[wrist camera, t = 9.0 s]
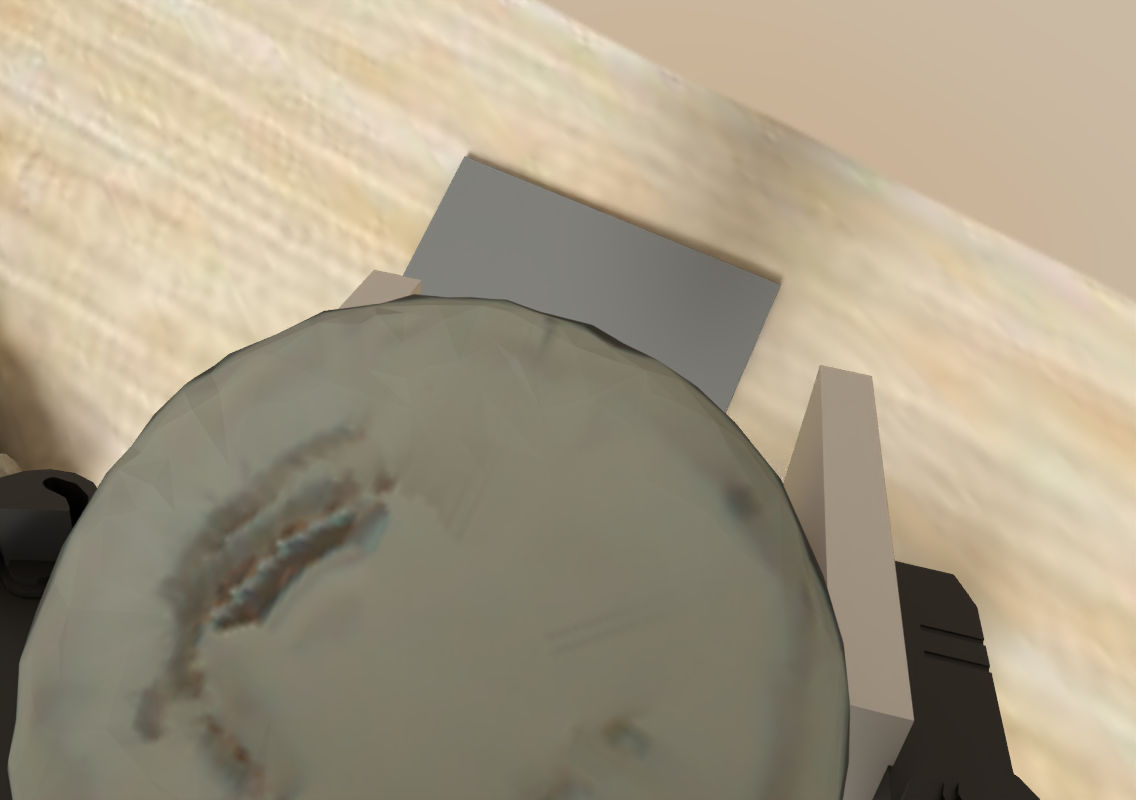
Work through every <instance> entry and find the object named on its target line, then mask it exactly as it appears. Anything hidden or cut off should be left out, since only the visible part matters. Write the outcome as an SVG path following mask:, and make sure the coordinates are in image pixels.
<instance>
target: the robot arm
mask: <svg viewBox="0 0 1136 800" xmlns="http://www.w3.org/2000/svg"><path fill="white" fill-rule="evenodd" d="M413 294H418V295H421V280H419V279H415V278H410V277H405V276H401V275H396V274H391V273H386V272H382V271H377V270H374V271H373V272H372V273H371V274H370V275H369V276H368V277H367V278H366V279H365V280H364V281H363V283H362V284H361V285H360V286H359V287H358V288H357V289H356V290H355V291H354V292H353V293H352V295H351V296H350V297H349V298H348V299H347V300H346V301H345V302H344V303H343V304H342V305H341V307H340V308H339V309H343V308H350V307H358V306H365V305H372V304H380V303H384V302H388V301H391V300H395V299H399V298H402V297H406V296H409V295H413ZM783 485H784V487H785V490H786V492H787V494H788V496H789V499H790V501H791V503H792V505H793V508H794V510H795V512H796V514H797V517H798V519H799V521H800V524H801V526H802V528H803V530H804V533H805V535H806V537H807V539H808V542H809V544H810V546H811V548H812V551H813V553H814V555H815V557H816V560H817V562H818V564H819V566H820V569H821V571H822V573H823V575H824V578H825V582H826V585H827V589H828V592H829V595H830V599H831V602H832V605H833V609H834V612H835V616H836V619H837V622H838V626H839V629H840V633H841V636H842V639H843V643H844V650H845V660H846V669H847V679H848V689H849V699H850V734H849V765H848V771H847V777H846V784H845V790H844V796H843V800H1040V799H1039V798H1038V797H1037V796H1036V795H1035V794H1034V793H1033V792H1032V791H1031V790H1030V788H1029V787H1028V786H1027V785H1026V784H1025V783H1024V782H1023V781H1022V780H1021V779H1020V778H1019V777H1017V776H1016V775H1014V773H1013V769H1012V765H1011V760H1010V756H1009V751H1008V746H1007V742H1006V737H1005V733H1004V728H1003V724H1002V719H1001V714H1000V710H999V705H998V701H997V696H996V692H995V687H994V682H993V678H992V673H990V672H989V667H990V664H989V659H988V655H987V650H986V646H984V645H983V641H984V637H983V632H982V627H981V623H980V618H979V614H978V609H977V606H976V605H975V603H974V602H973V601H972V599H971V598H970V596H969V595H968V594H967V592H966V591H965V590H964V588H963V587H962V585H961V584H960V583H959V581H958V580H957V578H956V577H955V576H954V575H953V574H949V573H944V572H940V571H936V570H931V569H927V568H923V567H919V566H914V565H910V564H906V563H901V562H897V561H895V560H894V552H893V544H892V536H891V528H890V520H889V512H888V503H887V495H886V487H885V479H884V471H883V463H882V454H881V446H880V438H879V430H878V422H877V414H876V405H875V397H874V389H873V381H872V376H869V375H864V374H859V373H855V372H850V371H845V370H841V369H836V368H831V367H827V366H822V365H820V367H819V371H818V374H817V377H816V380H815V384H814V387H813V390H812V393H811V397H810V400H809V403H808V406H807V409H806V413H805V416H804V419H803V422H802V426H801V429H800V432H799V435H798V439H797V442H796V445H795V448H794V451H793V455H792V458H791V461H790V464H789V468H788V471H787V474H786V477H785V481H784V484H783ZM96 490H97V487H96V486H95V484H94V483H93V482H91V481H89V480H87V479H85V478H83V477H81V476H80V475H78V474H76V473H70V472H64V471H58V470H51V469H49V470H34V471H22V472H18V473H15V474H11V475H7V476H4V477H0V800H13V799H12V793H11V787H10V782H9V776H8V770H7V769H8V759H9V754H10V749H11V743H12V738H13V733H14V728H15V722H16V711H17V694H18V677H19V662H20V659H21V656H22V653H23V650H24V647H25V643H26V640H27V637H28V634H29V631H30V628H31V625H32V622H33V619H34V616H35V613H36V610H37V608H38V605H39V603H40V600H41V598H42V595H43V593H44V590H45V588H46V585H47V583H48V580H49V578H50V575H51V573H52V570H53V568H54V565H55V563H56V560H57V558H58V555H59V553H60V550H61V548H62V545H63V544H64V542H65V541H66V539H67V537H68V536H69V534H70V532H71V531H72V529H73V527H74V526H75V524H76V523H77V521H78V519H79V518H80V516H81V514H82V513H83V511H84V509H85V508H86V506H87V505H88V503H89V501H90V500H91V498H92V496H93V495H94V493H95V491H96Z"/></svg>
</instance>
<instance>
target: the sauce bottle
mask: <svg viewBox="0 0 1136 800" xmlns="http://www.w3.org/2000/svg"><path fill="white" fill-rule="evenodd" d="M849 734H850V699H849V689H848V679H847V669H846V660H845V650H844V643H843V639H842V636H841V633H840V629H839V626H838V622H837V619H836V616H835V612H834V609H833V605H832V602H831V599H830V595H829V592H828V589H827V585H826V582H825V578H824V575H823V573H822V571H821V569H820V566H819V564H818V562H817V560H816V557H815V555H814V553H813V551H812V548H811V546H810V544H809V542H808V539H807V537H806V535H805V533H804V530H803V528H802V526H801V524H800V521H799V519H798V517H797V514H796V512H795V510H794V508H793V505H792V503H791V501H790V499H789V496H788V494H787V492H786V490H785V487H784V485H783V483H782V481H781V479H780V478H779V476H778V475H777V474H776V473H775V471H774V470H773V469H772V468H771V466H770V465H769V464H768V463H767V462H766V460H765V459H764V458H763V457H762V455H761V454H760V453H759V452H758V450H757V449H756V448H755V447H754V445H753V444H752V443H751V442H750V440H749V439H748V438H747V437H746V435H745V434H744V433H743V432H742V431H741V429H740V428H739V427H738V426H737V424H736V423H735V422H734V421H733V420H732V419H731V418H730V417H729V416H728V415H727V414H726V413H725V412H723V411H722V410H721V409H720V408H719V407H718V406H717V405H716V404H715V403H714V402H713V401H712V400H711V399H710V398H709V397H708V396H707V395H706V394H704V393H703V392H702V391H701V390H700V389H699V388H698V387H697V386H696V385H694V384H693V383H691V382H690V381H688V380H687V379H685V378H684V377H682V376H681V375H680V374H678V373H677V372H675V371H674V370H672V369H671V368H669V367H668V366H666V365H665V364H663V363H662V362H660V361H658V360H657V359H655V358H653V357H651V356H649V355H647V354H645V353H643V352H641V351H638V350H636V349H634V348H632V347H630V346H628V345H626V344H624V343H622V342H621V341H619V340H617V339H616V338H614V337H612V336H610V335H609V334H607V333H605V332H604V331H602V330H600V329H599V328H597V327H595V326H594V325H591V324H587V323H583V322H579V321H575V320H571V319H567V318H563V317H560V316H556V315H552V314H548V313H544V312H540V311H537V310H534V309H531V308H529V307H526V306H523V305H520V304H517V303H515V302H512V301H509V300H506V299H487V298H475V297H439V296H429V295H418V294H413V295H409V296H406V297H402V298H399V299H395V300H391V301H388V302H384V303H380V304H372V305H365V306H358V307H350V308H343V309H335V310H328V311H323V312H321V313H319V314H317V315H315V316H313V317H311V318H309V319H307V320H305V321H303V322H301V323H299V324H297V325H295V326H293V327H291V328H289V329H286V330H284V331H282V332H280V333H278V334H276V335H274V336H271V337H269V338H266V339H264V340H262V341H259V342H257V343H254V344H252V345H250V346H247V347H245V348H242V349H240V350H238V351H235V352H233V353H230V354H229V355H227V356H226V357H225V358H224V359H222V360H221V361H220V362H218V363H217V364H216V365H215V366H213V367H211V368H210V369H208V370H207V371H205V372H203V373H202V374H200V375H198V376H197V377H195V378H194V379H192V380H191V381H189V382H188V383H187V384H185V385H184V386H183V387H182V388H181V389H180V390H179V391H178V392H177V393H176V394H175V395H174V396H173V397H172V398H171V399H170V400H169V401H168V402H167V403H166V404H165V405H164V406H163V407H161V408H160V409H159V410H158V411H157V412H156V413H155V414H154V416H153V417H152V418H151V420H150V421H149V423H148V424H147V425H146V427H145V428H144V429H143V431H142V432H141V434H140V435H139V436H138V438H137V439H136V441H135V442H134V443H133V445H132V446H131V447H130V448H129V449H128V450H127V452H126V453H125V454H124V455H123V456H122V457H121V458H120V459H119V460H118V461H117V462H116V463H115V465H114V466H113V467H112V468H111V469H110V470H109V471H108V472H107V473H106V475H105V477H104V478H103V480H102V482H101V483H100V485H99V487H98V488H97V490H96V491H95V493H94V495H93V496H92V498H91V500H90V501H89V503H88V505H87V506H86V508H85V509H84V511H83V513H82V514H81V516H80V518H79V519H78V521H77V523H76V524H75V526H74V527H73V529H72V531H71V532H70V534H69V536H68V537H67V539H66V541H65V542H64V544H63V545H62V548H61V550H60V553H59V555H58V558H57V560H56V563H55V565H54V568H53V570H52V573H51V575H50V578H49V580H48V583H47V585H46V588H45V590H44V593H43V595H42V598H41V600H40V603H39V605H38V608H37V610H36V613H35V616H34V619H33V622H32V625H31V628H30V631H29V634H28V637H27V640H26V643H25V647H24V650H23V653H22V656H21V659H20V662H19V677H18V694H17V711H16V722H15V728H14V733H13V738H12V743H11V749H10V754H9V759H8V769H7V770H8V776H9V782H10V787H11V793H12V799H13V800H843V796H844V790H845V784H846V777H847V771H848V765H849Z"/></svg>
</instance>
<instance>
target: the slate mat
mask: <svg viewBox="0 0 1136 800" xmlns="http://www.w3.org/2000/svg"><path fill="white" fill-rule="evenodd" d="M403 276H405V277H410V278H415V279H419V280H421V295H429V296H439V297H475V298H487V299H506V300H509V301H512V302H515V303H517V304H520V305H523V306H526V307H529V308H531V309H534V310H537V311H540V312H544V313H548V314H552V315H556V316H560V317H563V318H567V319H571V320H575V321H579V322H583V323H587V324H591V325H594V326H595V327H597V328H599V329H600V330H602V331H604V332H605V333H607V334H609V335H610V336H612V337H614V338H616V339H617V340H619V341H621V342H622V343H624V344H626V345H628V346H630V347H632V348H634V349H636V350H638V351H641V352H643V353H645V354H647V355H649V356H651V357H653V358H655V359H657V360H658V361H660V362H662V363H663V364H665V365H666V366H668V367H669V368H671V369H672V370H674V371H675V372H677V373H678V374H680V375H681V376H682V377H684V378H685V379H687V380H688V381H690V382H691V383H693V384H694V385H696V386H697V387H698V388H699V389H700V390H701V391H702V392H703V393H704V394H706V395H707V396H708V397H709V398H710V399H711V400H712V401H713V402H714V403H715V404H716V405H717V406H718V407H719V408H720V409H721V410H722V411H723V412H726V410H727V408H728V405H729V403H730V401H731V399H732V396H733V394H734V392H735V389H736V387H737V385H738V382H739V380H740V378H741V376H742V373H743V371H744V369H745V366H746V364H747V362H748V359H749V357H750V355H751V353H752V350H753V348H754V346H755V343H756V341H757V339H758V336H759V334H760V332H761V330H762V327H763V325H764V323H765V320H766V318H767V316H768V313H769V311H770V309H771V307H772V304H773V302H774V300H775V297H776V295H777V293H778V290H779V288H780V286H781V285H780V284H778V283H775V282H773V281H770V280H768V279H766V278H763V277H761V276H758V275H756V274H753V273H751V272H748V271H746V270H743V269H741V268H738V267H736V266H734V265H731V264H729V263H726V262H724V261H721V260H719V259H716V258H714V257H711V256H709V255H706V254H704V253H702V252H699V251H697V250H694V249H692V248H689V247H687V246H684V245H682V244H679V243H677V242H675V241H672V240H670V239H667V238H665V237H662V236H660V235H657V234H655V233H652V232H650V231H647V230H645V229H643V228H640V227H638V226H635V225H633V224H630V223H628V222H625V221H623V220H620V219H618V218H615V217H613V216H611V215H608V214H606V213H603V212H601V211H598V210H596V209H593V208H591V207H588V206H586V205H584V204H581V203H579V202H576V201H574V200H571V199H569V198H566V197H564V196H561V195H559V194H556V193H554V192H552V191H549V190H547V189H544V188H542V187H539V186H537V185H534V184H532V183H529V182H527V181H524V180H522V179H520V178H517V177H515V176H512V175H510V174H507V173H505V172H502V171H500V170H497V169H495V168H493V167H490V166H488V165H485V164H483V163H480V162H478V161H475V160H473V159H470V158H468V157H464V159H463V161H462V163H461V164H460V166H459V168H458V170H457V172H456V174H455V176H454V178H453V180H452V182H451V184H450V186H449V188H448V190H447V192H446V193H445V195H444V197H443V199H442V201H441V203H440V205H439V207H438V209H437V211H436V213H435V215H434V217H433V219H432V221H431V222H430V224H429V226H428V228H427V230H426V232H425V234H424V236H423V238H422V240H421V242H420V244H419V246H418V248H417V249H416V251H415V253H414V255H413V257H412V259H411V261H410V263H409V265H408V267H407V269H406V271H405V273H404V275H403Z"/></svg>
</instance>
